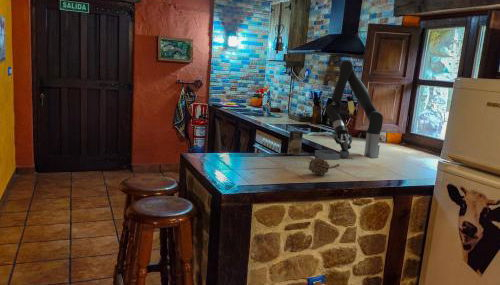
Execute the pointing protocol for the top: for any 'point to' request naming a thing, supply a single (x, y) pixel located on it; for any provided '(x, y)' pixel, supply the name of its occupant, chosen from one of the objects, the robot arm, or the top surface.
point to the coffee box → (295, 142)
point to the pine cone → (320, 166)
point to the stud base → (345, 157)
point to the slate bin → (327, 155)
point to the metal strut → (345, 150)
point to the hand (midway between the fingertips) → (346, 148)
